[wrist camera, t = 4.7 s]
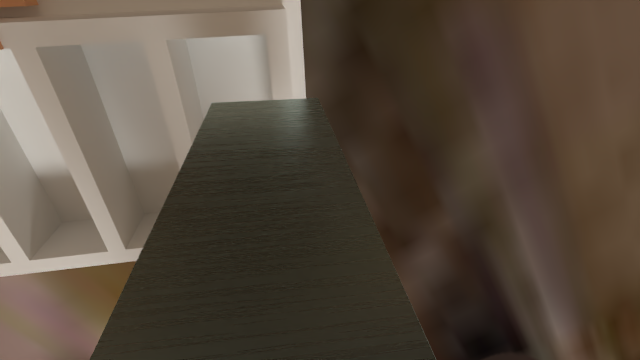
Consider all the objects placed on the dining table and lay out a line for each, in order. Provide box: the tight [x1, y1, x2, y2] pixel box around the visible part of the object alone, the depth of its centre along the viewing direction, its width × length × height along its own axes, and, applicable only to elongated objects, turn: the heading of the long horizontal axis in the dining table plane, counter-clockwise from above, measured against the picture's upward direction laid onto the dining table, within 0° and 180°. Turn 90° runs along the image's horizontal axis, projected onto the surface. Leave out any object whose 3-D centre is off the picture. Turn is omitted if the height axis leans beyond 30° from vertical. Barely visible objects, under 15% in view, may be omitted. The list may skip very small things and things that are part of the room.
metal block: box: [90, 98, 436, 360], centre depth 7 cm, size 8×2×7 cm, turn 0°
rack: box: [0, 0, 306, 277], centre depth 15 cm, size 14×20×4 cm
